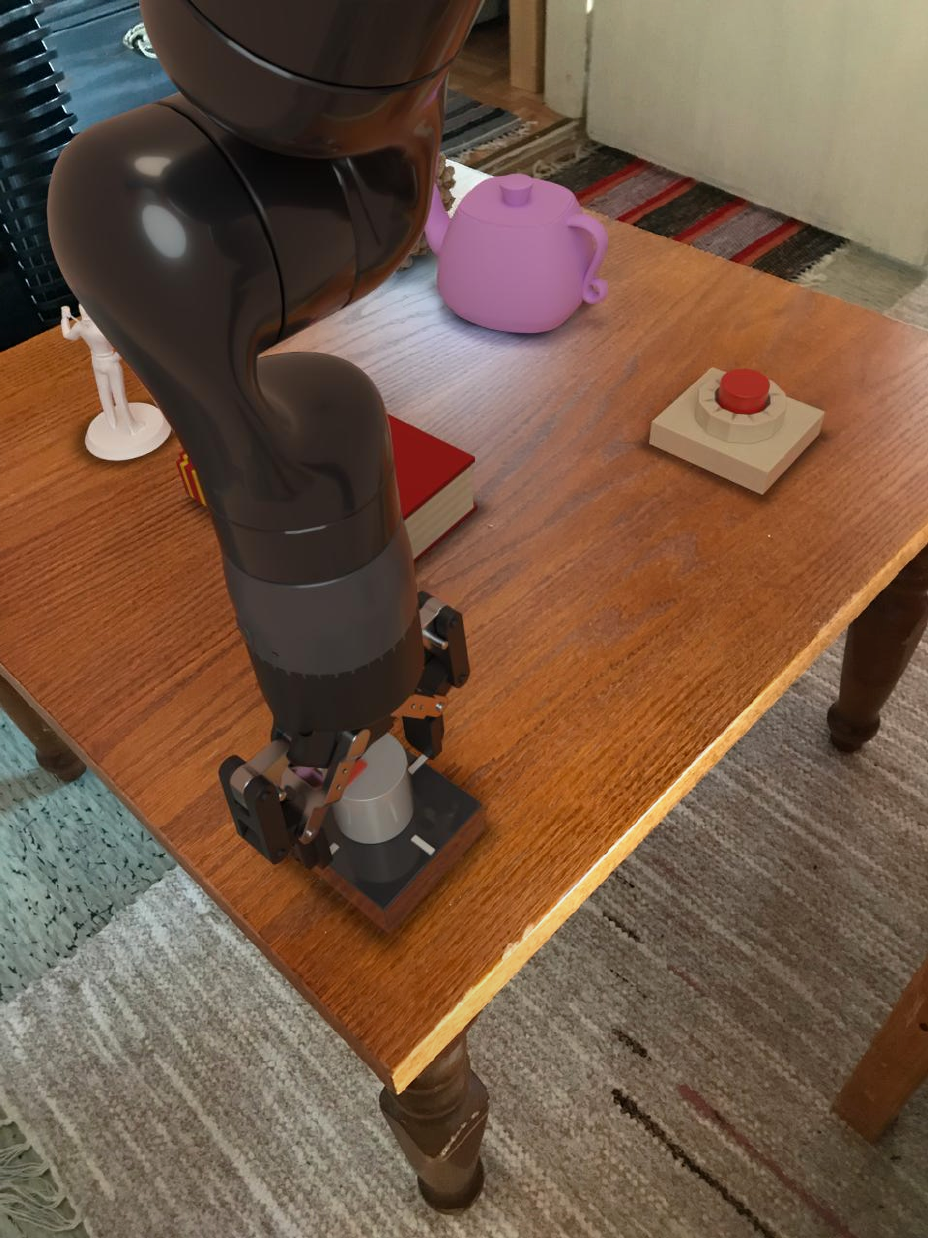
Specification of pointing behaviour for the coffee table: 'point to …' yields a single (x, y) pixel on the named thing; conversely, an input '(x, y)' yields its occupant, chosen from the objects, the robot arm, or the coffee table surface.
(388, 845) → the panel
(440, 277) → the teapot
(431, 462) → the book
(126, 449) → the figurine
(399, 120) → the robot arm
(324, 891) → the coffee table surface
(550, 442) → the coffee table surface
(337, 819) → the burner knob
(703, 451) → the block
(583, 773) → the coffee table surface
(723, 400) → the button
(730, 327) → the coffee table surface
